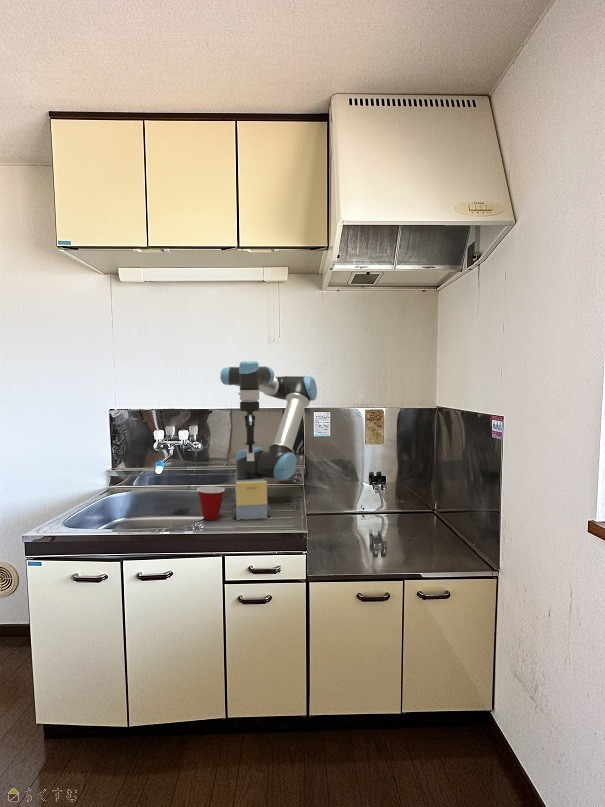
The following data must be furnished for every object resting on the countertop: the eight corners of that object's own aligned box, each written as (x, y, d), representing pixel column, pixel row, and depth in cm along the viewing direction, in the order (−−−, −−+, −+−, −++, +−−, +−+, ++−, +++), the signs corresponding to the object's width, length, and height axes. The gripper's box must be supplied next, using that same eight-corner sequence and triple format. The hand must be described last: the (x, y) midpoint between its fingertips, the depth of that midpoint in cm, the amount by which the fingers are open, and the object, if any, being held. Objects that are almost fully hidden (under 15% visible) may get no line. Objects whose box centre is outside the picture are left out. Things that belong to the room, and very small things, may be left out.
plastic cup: (230, 519, 183) (229, 489, 182) (203, 524, 178) (202, 493, 177) (219, 512, 192) (218, 483, 192) (193, 517, 187) (193, 487, 186)
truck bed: (232, 509, 196) (232, 480, 195) (267, 507, 198) (266, 478, 197) (233, 520, 182) (232, 488, 181) (270, 517, 184) (269, 486, 184)
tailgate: (236, 504, 182) (236, 482, 180) (266, 503, 184) (266, 480, 182) (236, 506, 180) (236, 483, 179) (267, 504, 182) (266, 482, 181)
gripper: (239, 400, 190) (240, 458, 191) (240, 402, 177) (241, 464, 178) (258, 399, 191) (259, 457, 192) (260, 401, 178) (261, 463, 179)
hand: (250, 460), depth 185 cm, fingers closed
